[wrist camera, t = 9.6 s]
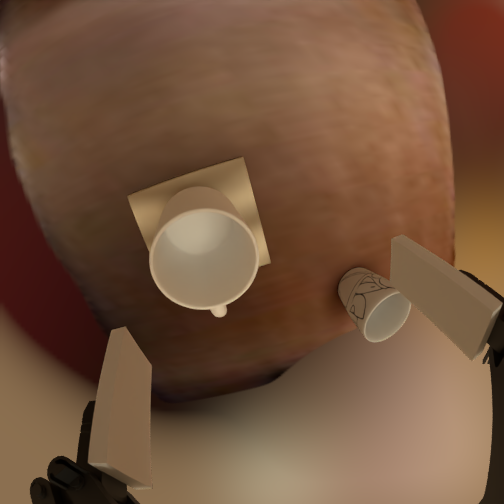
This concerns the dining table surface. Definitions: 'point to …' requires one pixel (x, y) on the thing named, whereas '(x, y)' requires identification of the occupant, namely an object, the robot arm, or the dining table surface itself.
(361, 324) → the mug
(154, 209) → the peg stand
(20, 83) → the dining table surface
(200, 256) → the mug
